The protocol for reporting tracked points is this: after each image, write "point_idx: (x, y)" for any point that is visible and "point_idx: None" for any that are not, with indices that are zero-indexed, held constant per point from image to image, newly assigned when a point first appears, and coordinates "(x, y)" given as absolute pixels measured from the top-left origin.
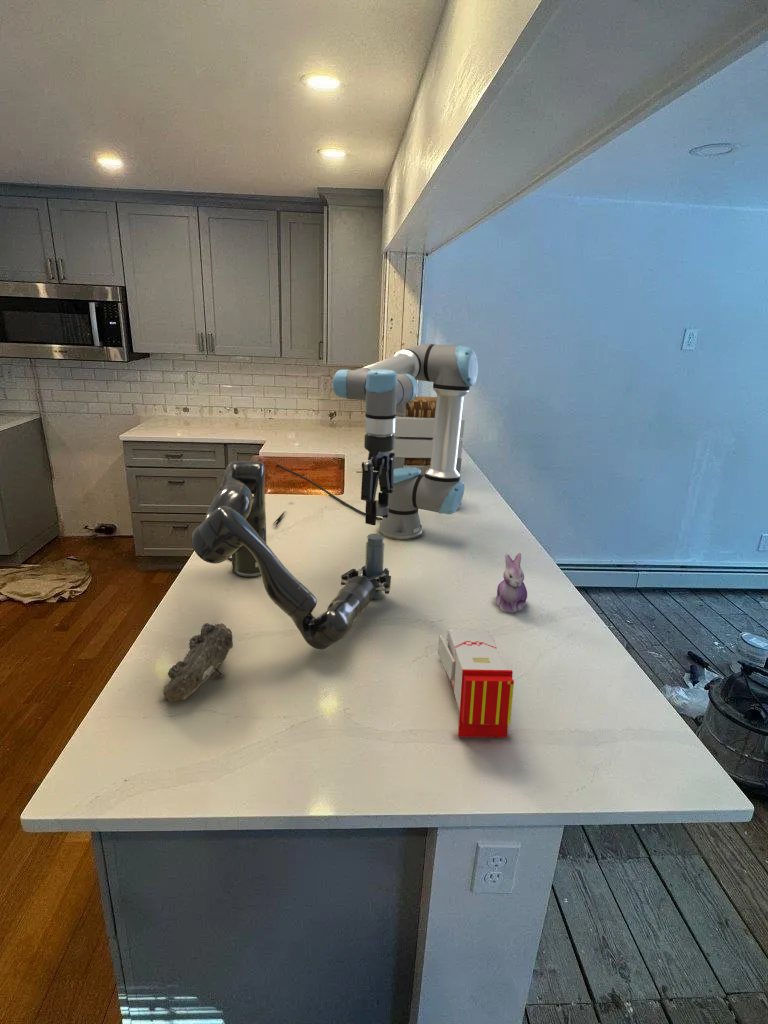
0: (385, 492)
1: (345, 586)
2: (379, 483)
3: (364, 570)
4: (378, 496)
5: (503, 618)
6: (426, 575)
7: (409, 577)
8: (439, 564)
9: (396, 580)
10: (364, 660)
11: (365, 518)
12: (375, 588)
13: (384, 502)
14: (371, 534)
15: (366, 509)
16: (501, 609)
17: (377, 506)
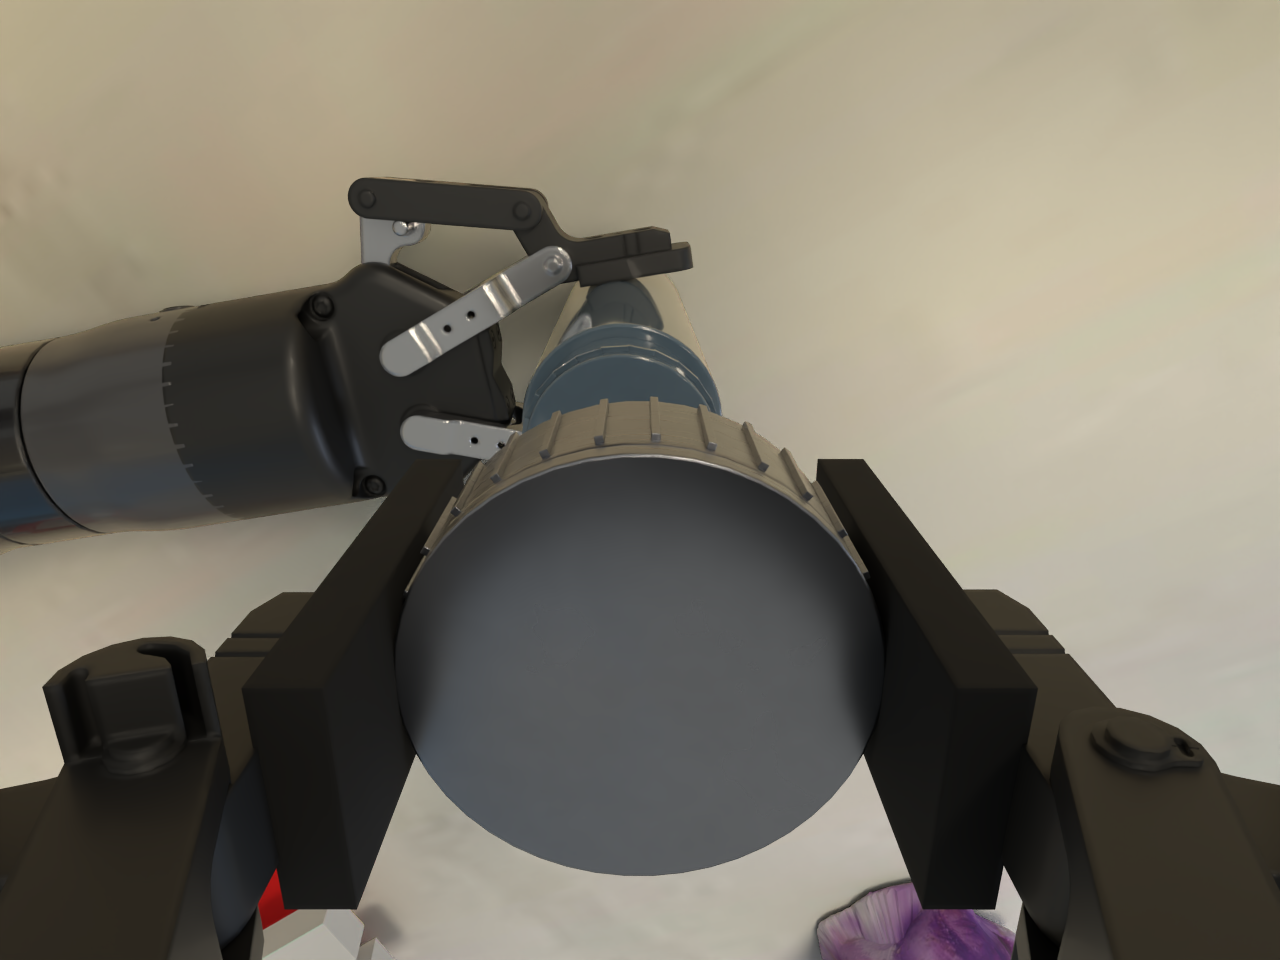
0: (1011, 858)
1: (103, 394)
2: (1104, 957)
3: (583, 285)
4: (921, 638)
5: (757, 938)
6: (1056, 483)
7: (980, 403)
8: (1261, 488)
9: (897, 349)
10: (31, 603)
11: (395, 487)
12: (387, 495)
13: (816, 751)
14: (650, 380)
15: (236, 646)
16: (821, 924)
17: (515, 747)
